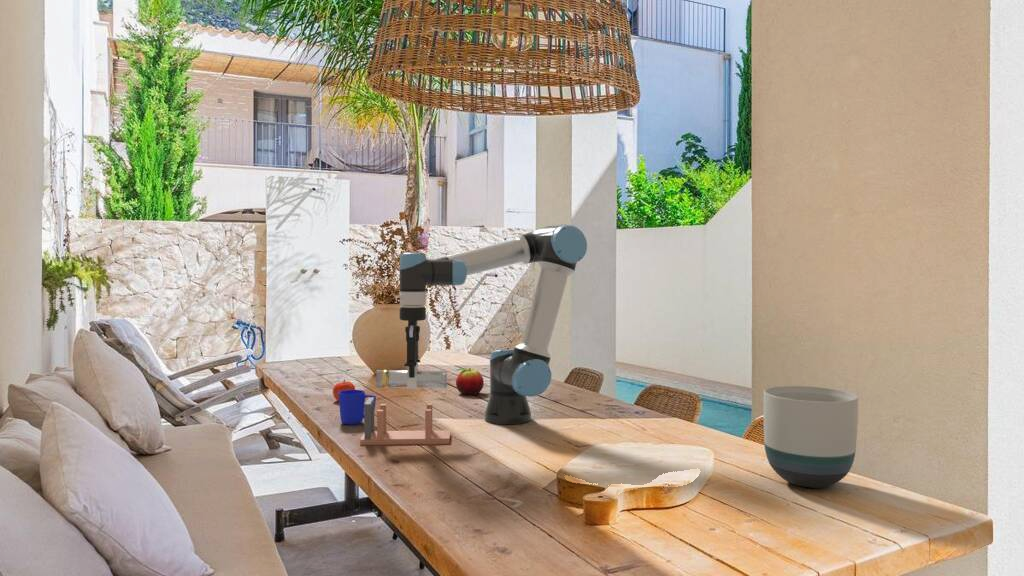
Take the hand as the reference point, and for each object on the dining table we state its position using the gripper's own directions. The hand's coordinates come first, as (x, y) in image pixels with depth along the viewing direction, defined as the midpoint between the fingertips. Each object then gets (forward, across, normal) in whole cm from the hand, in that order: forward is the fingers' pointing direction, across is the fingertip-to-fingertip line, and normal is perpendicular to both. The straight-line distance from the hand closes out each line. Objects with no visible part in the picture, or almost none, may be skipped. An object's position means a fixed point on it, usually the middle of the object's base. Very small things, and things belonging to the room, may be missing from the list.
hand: (412, 386), depth 212 cm
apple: (+16, -59, -29) cm, 67 cm away
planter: (+15, +47, +96) cm, 107 cm away
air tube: (0, -1, 0) cm, 1 cm away
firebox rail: (+15, 0, -2) cm, 16 cm away
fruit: (+16, -71, +17) cm, 75 cm away
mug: (+16, -22, -19) cm, 33 cm away
